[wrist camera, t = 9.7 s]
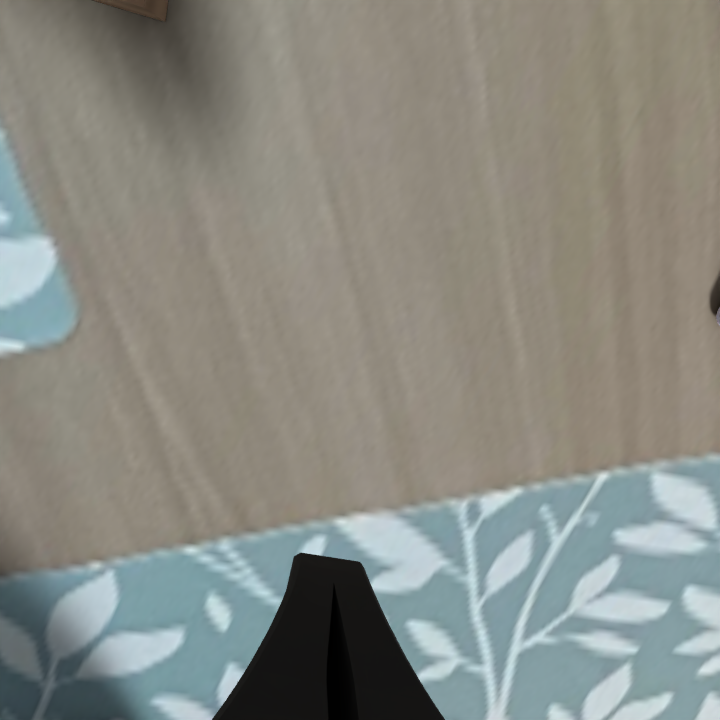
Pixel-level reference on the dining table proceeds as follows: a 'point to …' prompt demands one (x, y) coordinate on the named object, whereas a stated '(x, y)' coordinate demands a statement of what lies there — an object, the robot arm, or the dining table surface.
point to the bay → (141, 7)
